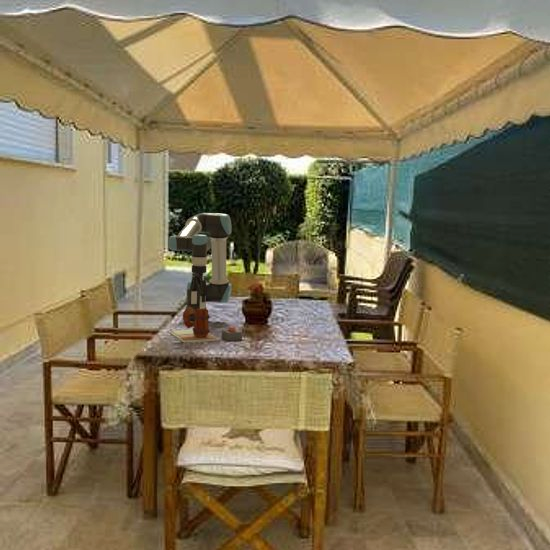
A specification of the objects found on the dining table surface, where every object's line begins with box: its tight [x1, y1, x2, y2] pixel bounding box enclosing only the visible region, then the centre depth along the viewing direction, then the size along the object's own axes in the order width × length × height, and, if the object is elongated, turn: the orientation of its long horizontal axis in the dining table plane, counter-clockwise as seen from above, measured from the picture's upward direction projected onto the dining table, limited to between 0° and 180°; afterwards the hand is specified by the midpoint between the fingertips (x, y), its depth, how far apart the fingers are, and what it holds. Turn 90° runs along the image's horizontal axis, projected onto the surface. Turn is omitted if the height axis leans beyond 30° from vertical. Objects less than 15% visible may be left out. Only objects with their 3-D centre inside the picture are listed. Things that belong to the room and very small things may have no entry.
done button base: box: [221, 328, 243, 341], centre depth 332 cm, size 8×8×4 cm
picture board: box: [168, 329, 219, 343], centre depth 333 cm, size 26×18×1 cm
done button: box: [227, 326, 236, 332], centre depth 331 cm, size 4×4×4 cm
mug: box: [182, 307, 211, 337], centre depth 327 cm, size 15×8×15 cm, turn 75°
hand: (198, 306), depth 326 cm, fingers open, 13 cm apart
